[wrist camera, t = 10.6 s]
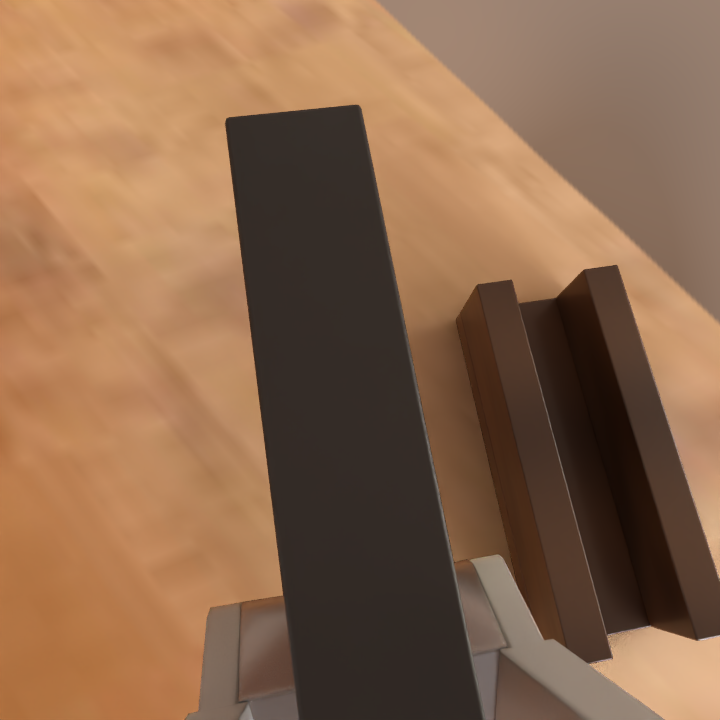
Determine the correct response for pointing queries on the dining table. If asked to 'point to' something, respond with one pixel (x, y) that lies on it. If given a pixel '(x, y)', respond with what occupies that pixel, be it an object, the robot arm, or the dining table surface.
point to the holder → (586, 466)
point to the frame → (345, 430)
